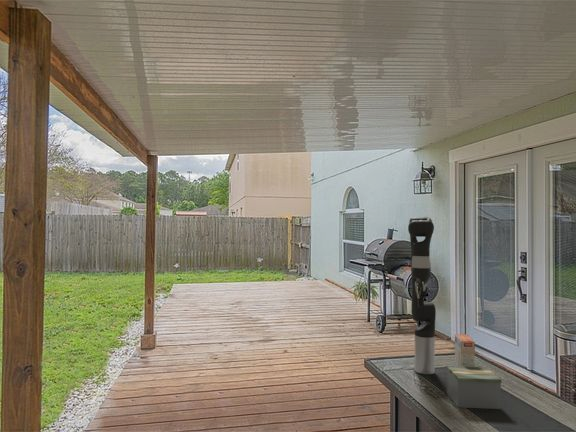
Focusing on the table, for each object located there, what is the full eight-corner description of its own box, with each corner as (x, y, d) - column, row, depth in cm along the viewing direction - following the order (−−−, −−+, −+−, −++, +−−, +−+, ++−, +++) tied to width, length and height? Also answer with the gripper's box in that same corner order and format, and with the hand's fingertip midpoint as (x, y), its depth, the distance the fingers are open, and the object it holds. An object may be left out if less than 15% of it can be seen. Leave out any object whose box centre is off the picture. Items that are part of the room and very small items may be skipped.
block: (446, 393, 176) (446, 369, 177) (486, 395, 175) (486, 370, 176) (458, 407, 162) (458, 380, 163) (500, 409, 161) (500, 382, 162)
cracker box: (475, 391, 179) (475, 341, 180) (460, 390, 180) (460, 340, 181) (468, 380, 193) (468, 334, 194) (454, 379, 194) (454, 333, 195)
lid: (446, 368, 177) (446, 365, 177) (485, 370, 176) (485, 366, 176) (458, 381, 162) (458, 377, 162) (501, 382, 161) (501, 379, 161)
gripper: (434, 268, 175) (434, 310, 174) (425, 265, 188) (425, 304, 188) (415, 267, 176) (415, 309, 175) (408, 265, 189) (408, 304, 188)
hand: (420, 307), depth 181 cm, fingers closed
